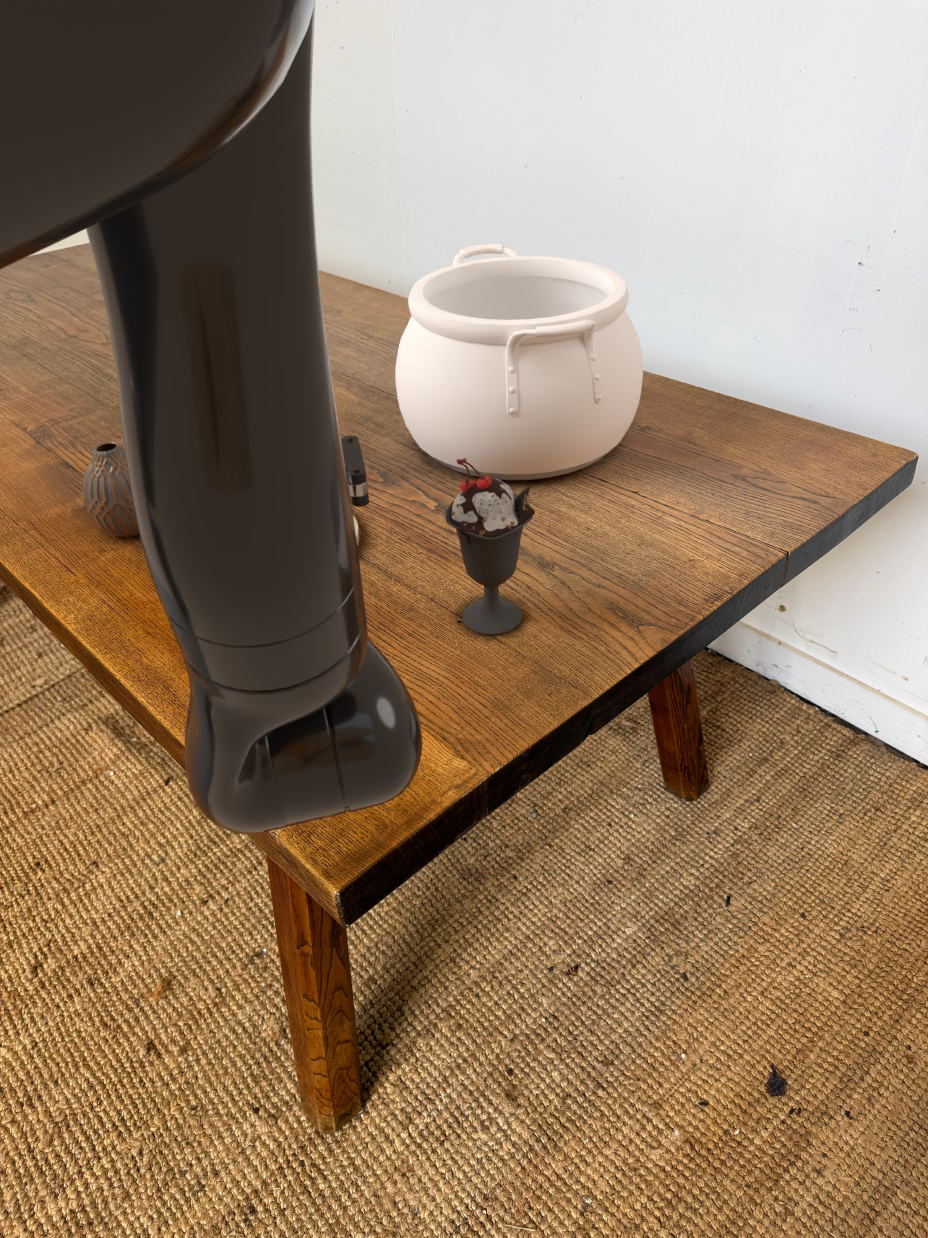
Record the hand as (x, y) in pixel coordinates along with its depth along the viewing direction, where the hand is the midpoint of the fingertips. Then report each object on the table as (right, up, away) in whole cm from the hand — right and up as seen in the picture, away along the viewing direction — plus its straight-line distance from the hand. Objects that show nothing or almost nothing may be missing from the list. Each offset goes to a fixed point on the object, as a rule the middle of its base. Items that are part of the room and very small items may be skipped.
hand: (254, 437), depth 65 cm
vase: (-17, -4, +22) cm, 28 cm away
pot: (+22, +7, +34) cm, 41 cm away
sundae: (+18, -14, +8) cm, 24 cm away
